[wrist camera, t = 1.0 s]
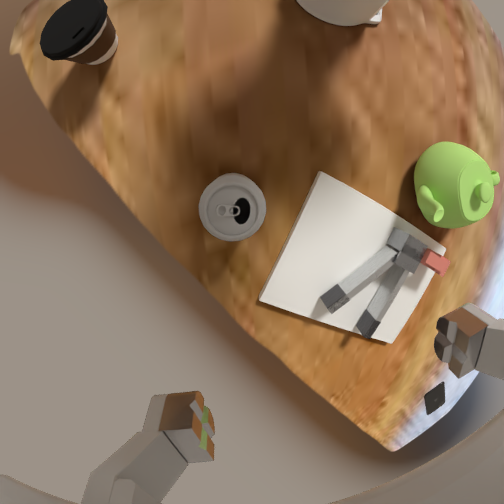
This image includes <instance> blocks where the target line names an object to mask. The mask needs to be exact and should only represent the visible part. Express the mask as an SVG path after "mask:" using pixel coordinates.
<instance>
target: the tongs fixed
mask: <svg viewBox="0 0 504 504" xmlns="http://www.w3.org/2000/svg"><path fill="white" fill-rule="evenodd" d="M386 243H387V244H389V245H391V246H392V247H394V249H393V250H394V251H395V252H397V253H398V255H397V257H396V259H395V261H394V264H393V265H392V266H391V268H390V269H389V271H388V273H387V275H386V277H385V279H384V280H383V282H382V284H381V286H380V288H379V289H378V291H377V293H376V294H375V296H374V298H373V300H372V301H371V303H370V305H369V306H368V308H367V309H366V310H365V312H364V313H363V315H362V316H361V318H360V320H359V321H358V323H357V324H356V327H357V328H358V330H359V331H360V333H361V334H362V335H363V337H365V338H368V339H370V338H371V337H372V335H373V334H374V332H375V331H376V329H377V327H378V326H379V324H380V323H381V320H382V319H383V317H384V315H385V314H386V312H387V311H388V309H389V307H390V306H391V304H392V302H393V301H394V299H395V297H396V295H397V294H398V292H399V290H400V288H401V287H402V285H403V283H404V281H405V280H406V278H407V276H408V274H409V272H411V273H413V274H414V273H415V271H416V269H417V267H418V265H419V263H420V262H421V260H422V258H423V256H424V254H425V252H426V249H427V247H428V246H427V245H425V244H424V243H422V242H421V241H419V240H418V239H416V238H415V237H413V236H412V235H410V234H408V233H406V232H404V231H402V230H400V229H397V228H395V227H394V228H393V230H392V232H391V234H390V236H389V238H388V240H387V242H386Z"/></svg>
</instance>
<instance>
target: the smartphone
mask: <svg viewBox="0 0 504 504" xmlns="http://www.w3.org/2000/svg"><path fill="white" fill-rule="evenodd" d="M424 397H425V404H426V411H427V415H429V414H431V413H432V412H434V411H435V410H436V409H438V408H439V407H441V406H442V405H443V404H444V403H445V387H444V382H441V383H440V384H439V385H437V386H436V387H435V388H434V389H432V390H430V391H429V392H428V393H426V394H425V396H424Z"/></svg>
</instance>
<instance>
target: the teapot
mask: <svg viewBox="0 0 504 504" xmlns="http://www.w3.org/2000/svg"><path fill="white" fill-rule="evenodd" d="M499 181H500V178H499V174H498V172H496V171H492V170H490V168H489V166H488V164H487V163H486V162H485V161H484V160H483V159H482V158H481V157H480V156H479V155H478V154H476V153H475V152H474V151H472V150H471V149H469V148H467V147H465V146H463V145H460V144H457V143H453V142H439V143H436V144H434V145H432V146H431V147H429V148H428V149H427V150H425V151H424V152H423V154H422V155H421V156H420V158H419V159H418V161H417V164H416V167H415V171H414V185H415V191H416V196H417V203H418V206H419V208H420V209H421V212H422V214H423V216H424V217H425V219H426V220H427V221H428V222H429V223H431V224H432V225H434V226H437V227H442V228H460V227H464V226H467V225H470V224H472V223H475V222H477V221H479V220H480V219H482V218H483V217H484V216H485V215H486V214H487V213H488V212H489V210H490V209H491V206H492V204H493V199H494V187H493V186H495V185H498V184H499Z"/></svg>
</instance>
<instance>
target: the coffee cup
mask: <svg viewBox="0 0 504 504" xmlns="http://www.w3.org/2000/svg"><path fill="white" fill-rule="evenodd" d="M40 45H41V49H42V52H43V55H44V56H46V57H48V58H49V59H51V60H68V61H73V62H77V63H81V64H89V65H97V64H100V63H102V62H105V61H106V60H108V59H109V58H110V57H111V56H112V55H113V54H114V52H115V51H116V48H117V46H118V37H117V35H116V30H115V28H114V26H113V24H112V22H111V20H110V18H109V16H108V14H107V5H106V3H105V2H104V0H71V1H69V2H67V3H65V4H64V5H63V6H61V7H60V8H59V9H58V10H57V11H55V13H54V14H53V15H52V16H51V18H50V19H49V20H48V21H47V23H46V25H45V27H44V29H43V31H42V34H41V40H40Z"/></svg>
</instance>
